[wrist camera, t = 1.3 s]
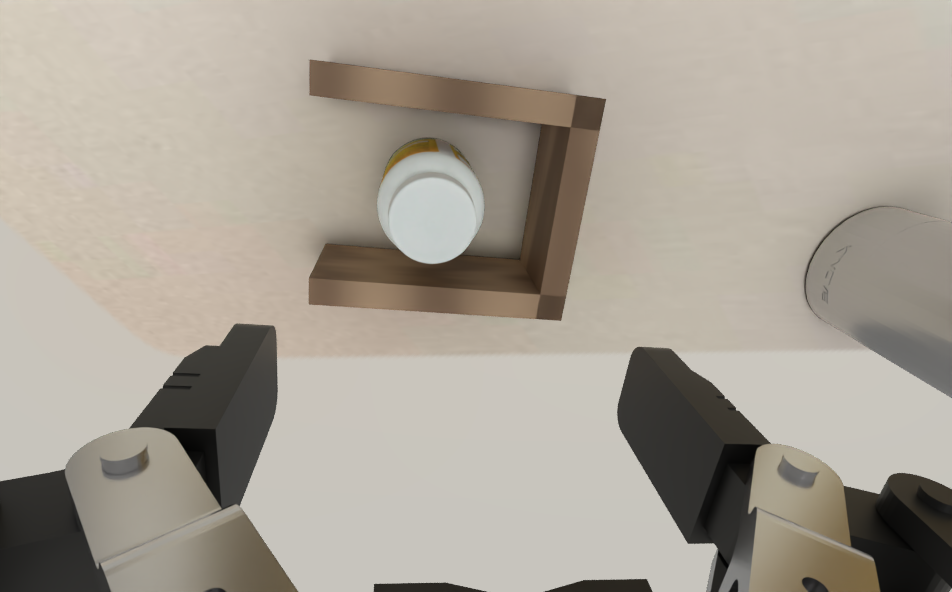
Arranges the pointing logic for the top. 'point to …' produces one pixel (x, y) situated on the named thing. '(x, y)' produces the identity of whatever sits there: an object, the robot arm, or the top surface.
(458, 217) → the supplement bottle
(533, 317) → the walnut open box
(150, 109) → the top surface
